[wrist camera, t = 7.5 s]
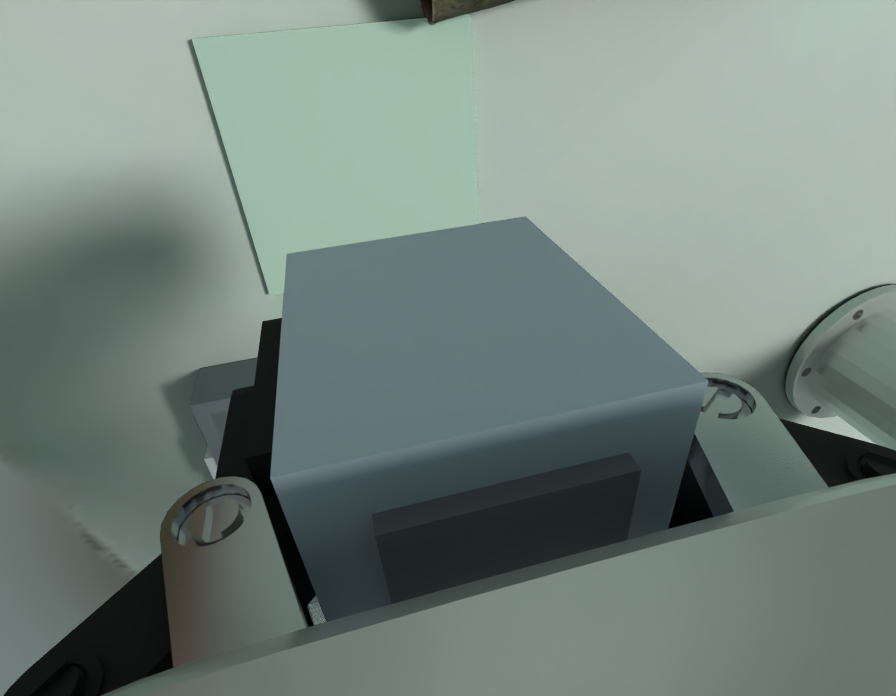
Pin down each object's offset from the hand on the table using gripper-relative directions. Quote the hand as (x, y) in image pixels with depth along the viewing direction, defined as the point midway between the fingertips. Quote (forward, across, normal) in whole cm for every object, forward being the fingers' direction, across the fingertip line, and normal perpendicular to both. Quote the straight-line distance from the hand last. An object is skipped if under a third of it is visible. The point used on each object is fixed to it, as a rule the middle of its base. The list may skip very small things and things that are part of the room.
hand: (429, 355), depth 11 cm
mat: (+18, 0, 0) cm, 18 cm away
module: (+1, 0, 0) cm, 1 cm away
